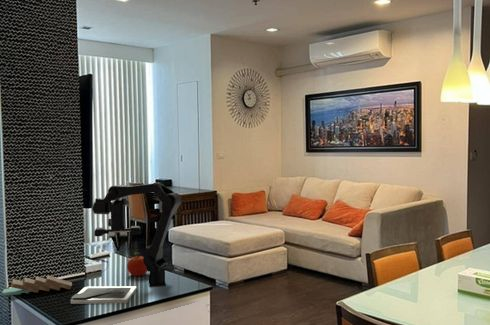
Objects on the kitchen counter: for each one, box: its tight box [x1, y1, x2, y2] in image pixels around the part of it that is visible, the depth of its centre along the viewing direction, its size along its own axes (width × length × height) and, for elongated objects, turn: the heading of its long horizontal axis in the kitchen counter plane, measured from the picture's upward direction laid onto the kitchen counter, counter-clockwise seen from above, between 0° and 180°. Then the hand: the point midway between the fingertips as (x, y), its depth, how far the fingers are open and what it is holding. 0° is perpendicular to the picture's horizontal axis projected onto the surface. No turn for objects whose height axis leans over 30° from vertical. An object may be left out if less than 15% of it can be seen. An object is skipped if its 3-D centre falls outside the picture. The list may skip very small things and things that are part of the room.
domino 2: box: [10, 278, 40, 294], centre depth 186 cm, size 2×5×10 cm
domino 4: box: [34, 276, 62, 291], centre depth 189 cm, size 2×5×10 cm
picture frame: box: [70, 285, 137, 305], centre depth 181 cm, size 16×3×21 cm
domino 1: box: [1, 287, 32, 297], centre depth 187 cm, size 2×5×10 cm
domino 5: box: [45, 274, 73, 290], centre depth 191 cm, size 2×5×10 cm
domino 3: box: [22, 277, 51, 292], centre depth 188 cm, size 2×5×10 cm
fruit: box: [126, 251, 148, 277], centre depth 210 cm, size 10×10×10 cm
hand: (118, 251), depth 200 cm, fingers closed
